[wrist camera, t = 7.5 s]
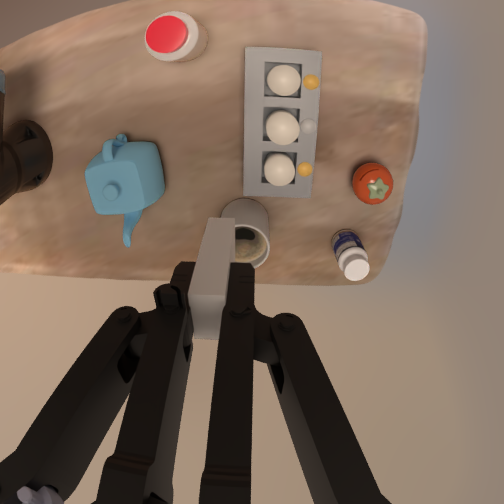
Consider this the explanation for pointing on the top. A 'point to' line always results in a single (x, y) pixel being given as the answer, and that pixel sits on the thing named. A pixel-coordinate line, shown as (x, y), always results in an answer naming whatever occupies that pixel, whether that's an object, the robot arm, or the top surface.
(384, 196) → the tomato
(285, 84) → the button
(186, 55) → the pill bottle
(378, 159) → the top surface
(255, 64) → the console
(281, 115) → the button middle
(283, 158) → the button
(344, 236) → the pill bottle
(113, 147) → the teapot
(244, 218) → the mug
